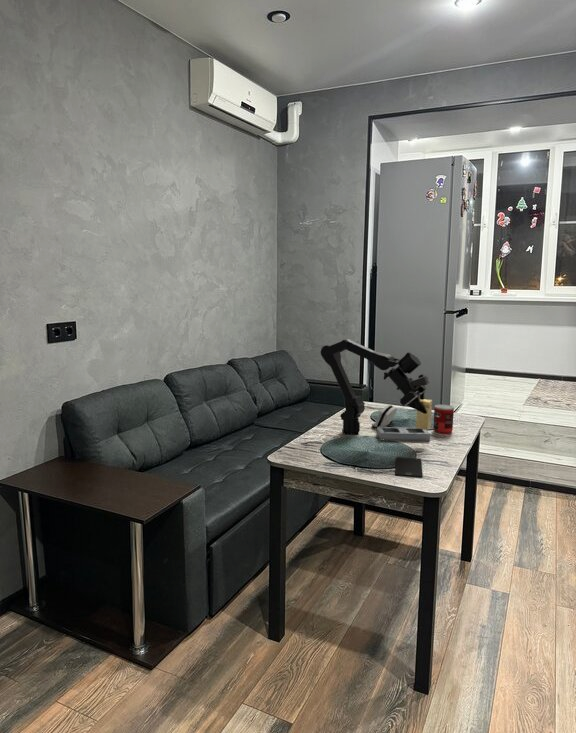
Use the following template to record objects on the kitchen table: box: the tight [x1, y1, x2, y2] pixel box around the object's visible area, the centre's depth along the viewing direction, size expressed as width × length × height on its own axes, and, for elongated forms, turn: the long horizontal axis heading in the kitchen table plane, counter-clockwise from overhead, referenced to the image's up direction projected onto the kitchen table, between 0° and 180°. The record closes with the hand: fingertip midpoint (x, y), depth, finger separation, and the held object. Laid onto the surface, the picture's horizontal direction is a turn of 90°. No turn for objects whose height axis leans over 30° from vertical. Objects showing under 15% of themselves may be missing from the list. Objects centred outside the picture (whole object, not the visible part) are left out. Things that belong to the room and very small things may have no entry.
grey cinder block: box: [376, 426, 431, 442], centre depth 220 cm, size 20×9×3 cm, turn 89°
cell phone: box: [394, 456, 424, 478], centre depth 185 cm, size 9×18×1 cm, turn 168°
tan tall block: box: [415, 398, 433, 431], centre depth 209 cm, size 5×5×11 cm
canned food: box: [433, 404, 455, 435], centre depth 229 cm, size 8×8×11 cm
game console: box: [370, 404, 398, 429], centre depth 239 cm, size 17×5×10 cm, turn 152°
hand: (427, 411), depth 208 cm, fingers closed on tan tall block, 4 cm apart
